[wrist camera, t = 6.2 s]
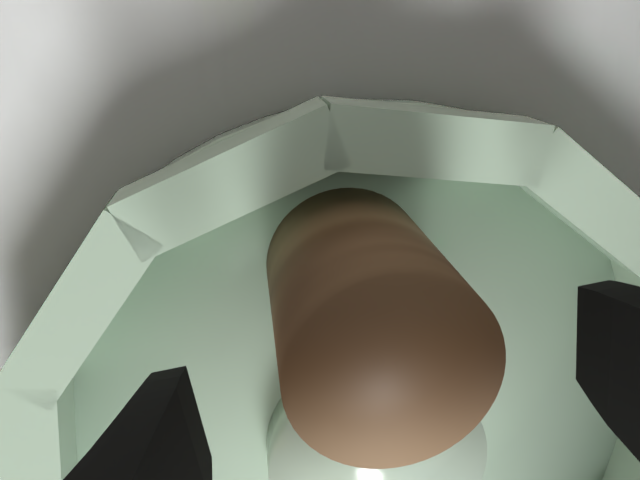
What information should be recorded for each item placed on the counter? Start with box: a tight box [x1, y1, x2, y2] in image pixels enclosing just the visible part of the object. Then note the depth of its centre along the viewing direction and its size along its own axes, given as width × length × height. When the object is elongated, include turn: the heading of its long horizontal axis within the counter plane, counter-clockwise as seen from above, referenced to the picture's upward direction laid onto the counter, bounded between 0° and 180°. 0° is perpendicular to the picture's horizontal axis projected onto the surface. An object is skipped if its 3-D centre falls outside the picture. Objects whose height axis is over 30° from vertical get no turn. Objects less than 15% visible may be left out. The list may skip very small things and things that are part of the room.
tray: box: [0, 95, 640, 480], centre depth 16 cm, size 19×19×2 cm
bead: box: [266, 188, 506, 469], centre depth 12 cm, size 4×4×5 cm
